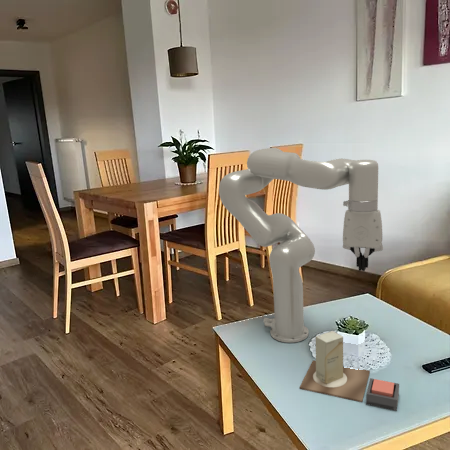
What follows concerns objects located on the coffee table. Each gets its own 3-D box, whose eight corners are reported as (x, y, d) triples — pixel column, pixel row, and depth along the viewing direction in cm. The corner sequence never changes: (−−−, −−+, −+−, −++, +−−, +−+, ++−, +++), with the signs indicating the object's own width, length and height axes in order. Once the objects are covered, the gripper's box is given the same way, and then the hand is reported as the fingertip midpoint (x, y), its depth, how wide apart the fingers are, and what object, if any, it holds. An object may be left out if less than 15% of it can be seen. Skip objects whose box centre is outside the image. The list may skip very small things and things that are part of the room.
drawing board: (299, 388, 113) (299, 386, 113) (312, 361, 125) (312, 359, 125) (362, 402, 106) (362, 400, 106) (369, 372, 118) (369, 370, 118)
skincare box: (326, 384, 113) (325, 343, 110) (315, 376, 117) (314, 336, 114) (344, 377, 116) (344, 336, 113) (332, 369, 120) (332, 329, 117)
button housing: (366, 404, 105) (366, 393, 105) (370, 388, 111) (370, 378, 111) (396, 411, 102) (397, 400, 101) (398, 394, 108) (399, 383, 108)
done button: (371, 398, 105) (371, 389, 105) (373, 387, 110) (374, 379, 109) (392, 403, 103) (392, 393, 103) (394, 391, 108) (394, 382, 107)
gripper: (332, 207, 116) (332, 271, 121) (391, 209, 110) (389, 276, 114) (338, 202, 123) (338, 263, 127) (393, 203, 116) (391, 267, 121)
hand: (362, 269), depth 121 cm, fingers closed
